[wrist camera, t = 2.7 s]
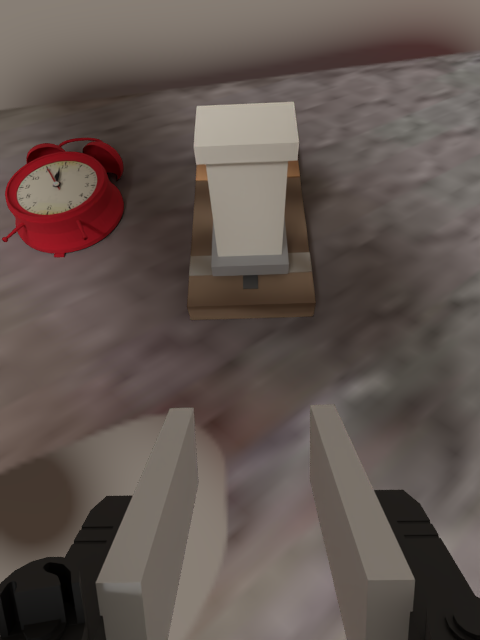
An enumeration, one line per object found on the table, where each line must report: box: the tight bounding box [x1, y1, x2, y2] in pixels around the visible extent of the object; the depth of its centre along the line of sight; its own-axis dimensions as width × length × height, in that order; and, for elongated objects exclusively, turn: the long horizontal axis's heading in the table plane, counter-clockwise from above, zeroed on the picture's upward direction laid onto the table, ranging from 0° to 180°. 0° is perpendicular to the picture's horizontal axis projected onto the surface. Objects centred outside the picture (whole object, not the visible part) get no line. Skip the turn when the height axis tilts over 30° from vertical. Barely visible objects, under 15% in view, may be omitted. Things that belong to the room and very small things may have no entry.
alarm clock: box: [2, 138, 124, 257], centre depth 40 cm, size 10×6×15 cm
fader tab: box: [194, 102, 299, 276], centre depth 29 cm, size 5×6×11 cm
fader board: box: [187, 160, 316, 320], centre depth 39 cm, size 24×10×2 cm, turn 0°
